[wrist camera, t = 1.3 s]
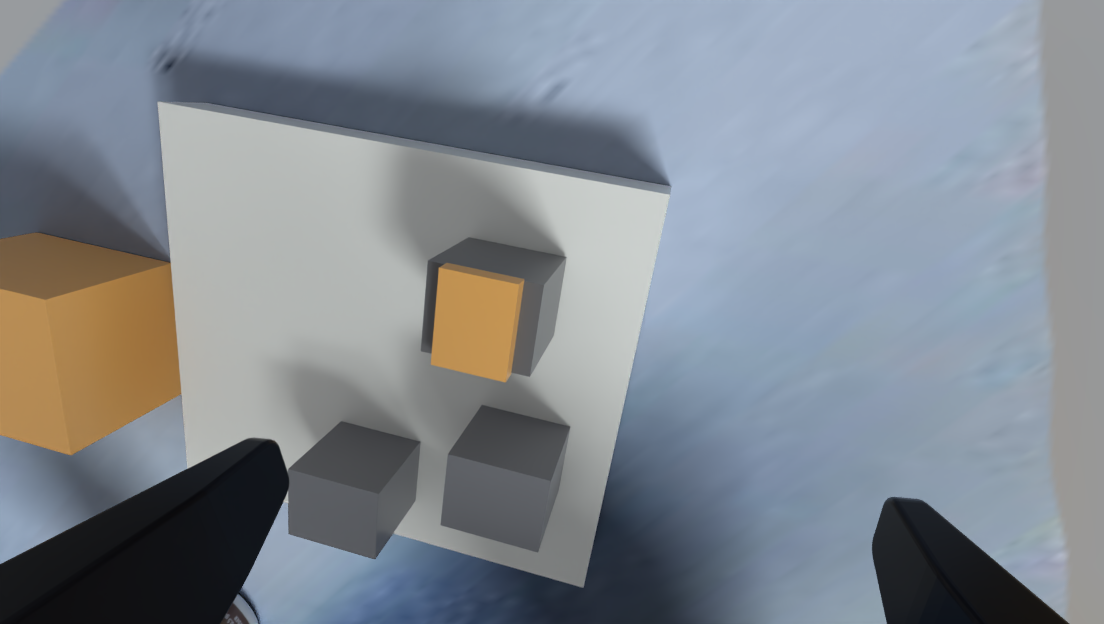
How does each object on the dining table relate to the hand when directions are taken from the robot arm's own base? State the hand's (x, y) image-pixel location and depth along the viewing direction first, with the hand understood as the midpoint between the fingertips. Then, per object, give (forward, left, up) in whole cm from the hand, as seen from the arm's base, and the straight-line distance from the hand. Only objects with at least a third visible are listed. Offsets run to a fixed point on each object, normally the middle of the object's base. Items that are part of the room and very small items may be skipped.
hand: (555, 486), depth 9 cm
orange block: (+20, +6, -11) cm, 24 cm away
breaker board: (+7, +4, -11) cm, 14 cm away
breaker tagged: (+3, 0, -9) cm, 10 cm away
